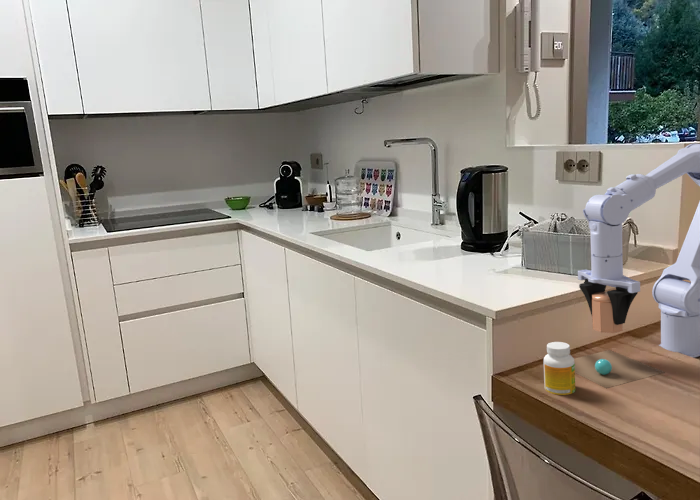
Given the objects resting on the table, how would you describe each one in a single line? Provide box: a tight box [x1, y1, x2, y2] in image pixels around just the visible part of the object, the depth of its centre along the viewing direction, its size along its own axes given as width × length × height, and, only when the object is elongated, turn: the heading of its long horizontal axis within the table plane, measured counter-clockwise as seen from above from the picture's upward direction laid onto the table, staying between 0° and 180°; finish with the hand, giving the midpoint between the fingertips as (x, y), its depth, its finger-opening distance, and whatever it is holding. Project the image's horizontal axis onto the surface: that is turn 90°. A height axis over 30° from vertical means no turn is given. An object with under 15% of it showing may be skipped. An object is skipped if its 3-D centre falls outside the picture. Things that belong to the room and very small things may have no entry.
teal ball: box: [595, 359, 612, 375], centre depth 104 cm, size 3×3×3 cm
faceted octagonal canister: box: [591, 291, 624, 334], centre depth 109 cm, size 6×6×7 cm
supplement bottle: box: [543, 341, 576, 396], centre depth 99 cm, size 5×5×10 cm
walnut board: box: [573, 349, 666, 389], centre depth 107 cm, size 14×14×1 cm
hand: (607, 319), depth 109 cm, fingers closed on faceted octagonal canister, 5 cm apart
